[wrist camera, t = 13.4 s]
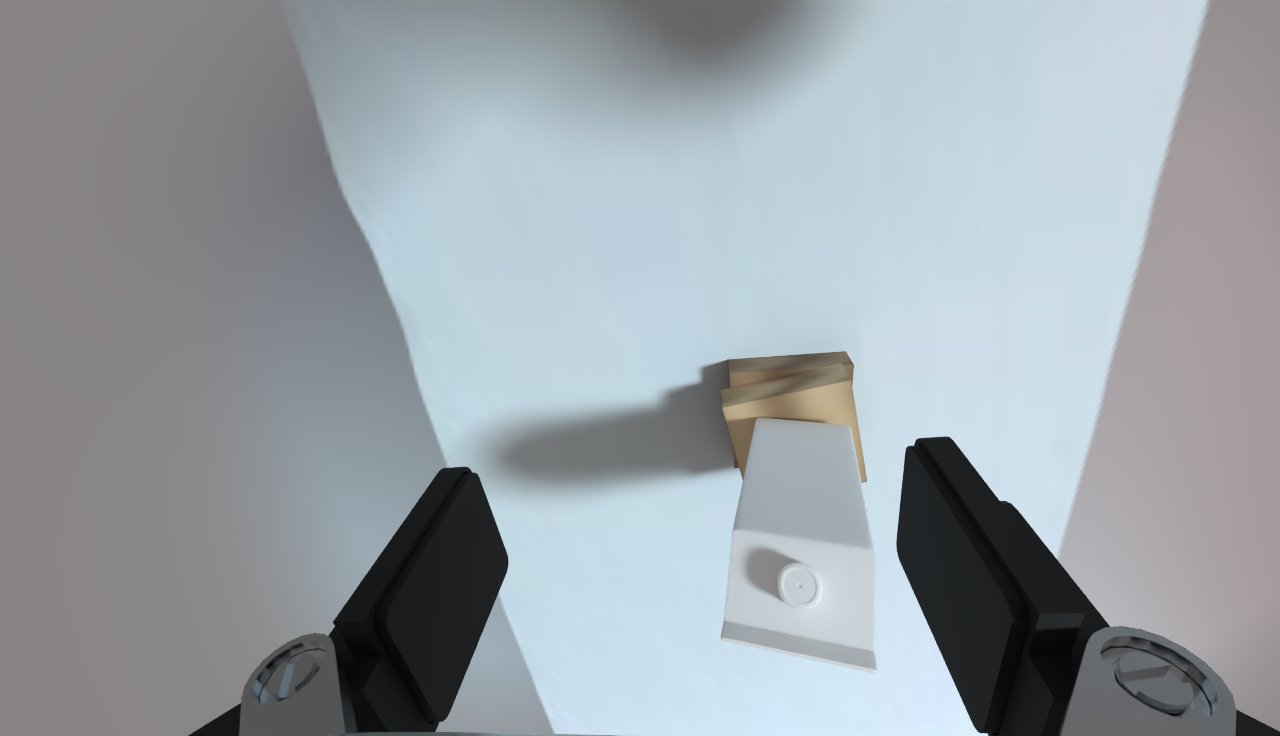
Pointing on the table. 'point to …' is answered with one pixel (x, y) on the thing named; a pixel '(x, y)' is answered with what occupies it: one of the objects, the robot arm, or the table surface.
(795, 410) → the top slab
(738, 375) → the bottom slab
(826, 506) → the milk carton
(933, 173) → the table surface
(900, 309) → the table surface
